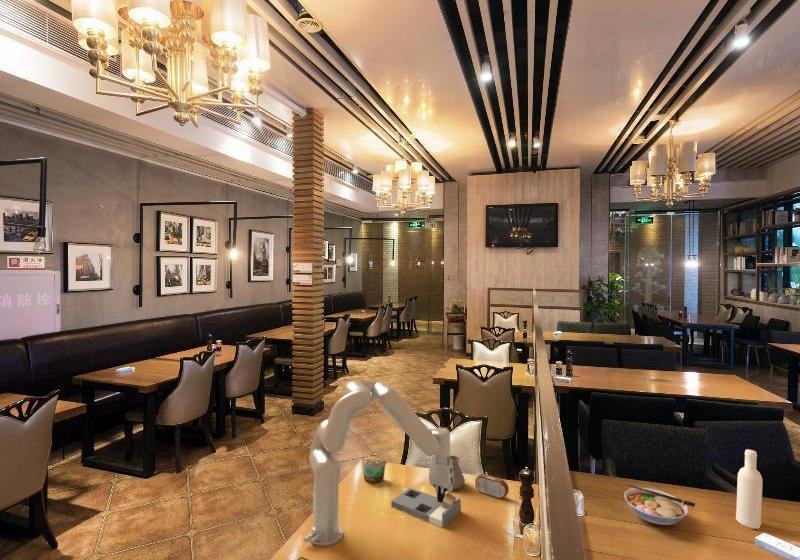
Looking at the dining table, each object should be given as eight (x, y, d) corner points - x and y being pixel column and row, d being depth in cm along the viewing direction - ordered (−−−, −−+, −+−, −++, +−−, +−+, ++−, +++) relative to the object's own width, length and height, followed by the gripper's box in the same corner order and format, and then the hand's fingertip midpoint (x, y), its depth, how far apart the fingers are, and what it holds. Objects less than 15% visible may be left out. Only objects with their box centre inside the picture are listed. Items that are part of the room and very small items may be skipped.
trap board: (444, 528, 174) (444, 514, 174) (391, 506, 189) (391, 494, 189) (460, 511, 185) (460, 498, 185) (409, 492, 200) (409, 480, 200)
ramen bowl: (613, 518, 181) (613, 499, 181) (629, 497, 198) (630, 479, 197) (684, 545, 164) (685, 524, 164) (696, 519, 181) (696, 500, 180)
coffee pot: (440, 478, 214) (440, 448, 213) (464, 480, 212) (464, 449, 212) (439, 502, 192) (439, 469, 192) (466, 504, 191) (466, 470, 191)
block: (450, 509, 182) (453, 501, 182) (441, 504, 184) (444, 496, 183) (453, 505, 186) (456, 497, 185) (445, 499, 188) (448, 491, 187)
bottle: (739, 527, 175) (742, 453, 174) (732, 517, 183) (735, 445, 181) (764, 532, 172) (767, 456, 171) (756, 521, 180) (759, 448, 179)
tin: (508, 498, 196) (509, 480, 196) (506, 501, 193) (506, 483, 193) (477, 489, 204) (477, 471, 204) (474, 492, 201) (474, 474, 201)
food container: (358, 483, 208) (358, 463, 208) (361, 477, 214) (361, 457, 214) (383, 486, 206) (384, 465, 206) (386, 479, 212) (386, 459, 212)
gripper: (461, 459, 184) (461, 502, 185) (430, 451, 193) (430, 492, 194) (452, 466, 178) (452, 511, 179) (421, 457, 187) (421, 499, 188)
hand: (441, 501), depth 187 cm, fingers closed
